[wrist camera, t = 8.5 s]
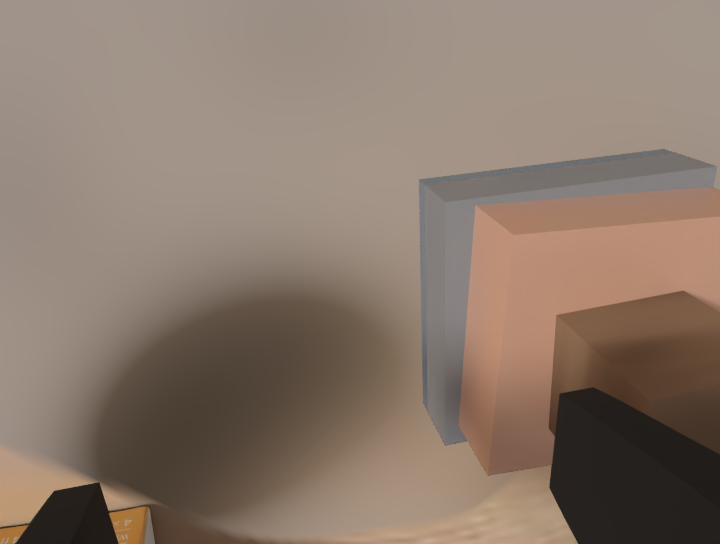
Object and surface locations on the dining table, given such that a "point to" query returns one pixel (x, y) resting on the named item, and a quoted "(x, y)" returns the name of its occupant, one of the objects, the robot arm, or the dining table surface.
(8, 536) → the small box
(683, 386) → the walnut cube
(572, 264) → the terracotta tile
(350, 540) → the dining table surface
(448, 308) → the slate slab
